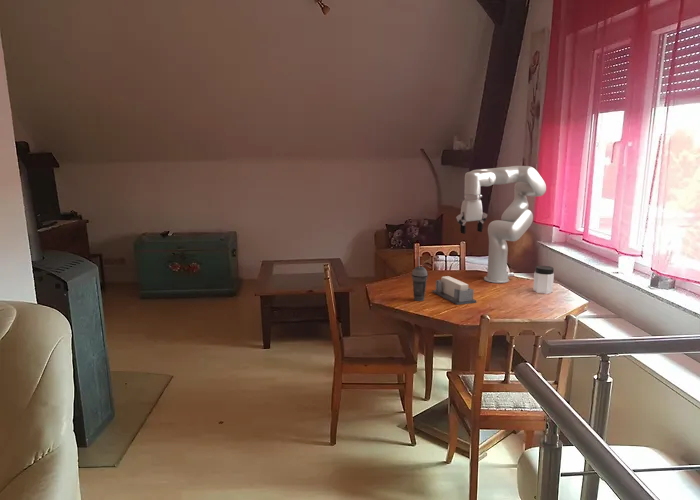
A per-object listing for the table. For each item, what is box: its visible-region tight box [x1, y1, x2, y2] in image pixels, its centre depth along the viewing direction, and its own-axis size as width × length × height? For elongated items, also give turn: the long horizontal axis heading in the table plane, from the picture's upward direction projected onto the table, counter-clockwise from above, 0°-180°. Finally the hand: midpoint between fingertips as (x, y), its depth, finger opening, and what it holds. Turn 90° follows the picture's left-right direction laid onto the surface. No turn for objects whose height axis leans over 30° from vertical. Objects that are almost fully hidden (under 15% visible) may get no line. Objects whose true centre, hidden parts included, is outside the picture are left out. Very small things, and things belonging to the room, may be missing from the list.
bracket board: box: [432, 279, 477, 306], centre depth 245 cm, size 10×22×6 cm, turn 20°
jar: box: [532, 265, 555, 295], centre depth 254 cm, size 9×8×12 cm
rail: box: [440, 275, 469, 297], centre depth 244 cm, size 4×17×7 cm, turn 20°
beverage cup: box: [411, 256, 428, 302], centre depth 239 cm, size 7×7×20 cm
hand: (471, 232), depth 259 cm, fingers open, 9 cm apart
